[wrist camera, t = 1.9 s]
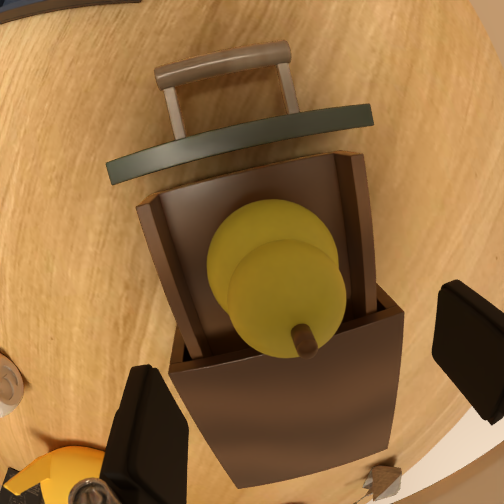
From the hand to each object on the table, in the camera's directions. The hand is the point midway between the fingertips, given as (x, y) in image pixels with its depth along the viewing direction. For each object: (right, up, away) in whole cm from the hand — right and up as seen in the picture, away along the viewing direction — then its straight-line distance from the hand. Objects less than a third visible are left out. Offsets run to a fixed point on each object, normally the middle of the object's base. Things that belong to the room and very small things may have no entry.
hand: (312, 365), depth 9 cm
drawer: (-2, +6, +10) cm, 12 cm away
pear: (-1, +4, +10) cm, 11 cm away
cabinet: (+2, -8, +17) cm, 18 cm away
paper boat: (+16, -29, +27) cm, 42 cm away
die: (-28, -9, +14) cm, 32 cm away
